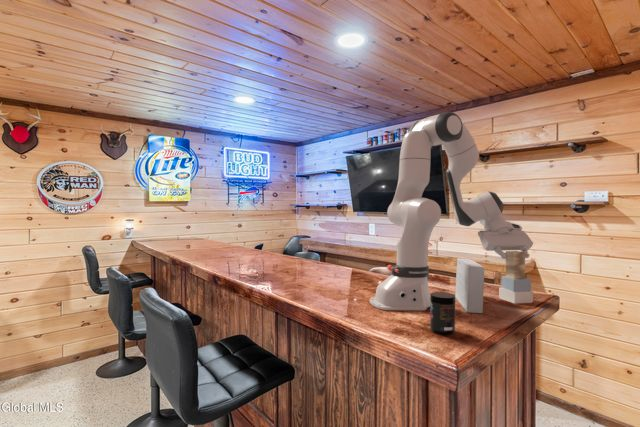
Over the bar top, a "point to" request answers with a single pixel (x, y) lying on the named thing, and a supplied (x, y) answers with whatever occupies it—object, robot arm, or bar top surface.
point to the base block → (515, 296)
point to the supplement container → (442, 313)
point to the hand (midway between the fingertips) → (516, 257)
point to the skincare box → (470, 285)
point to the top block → (516, 284)
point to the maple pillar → (515, 265)
